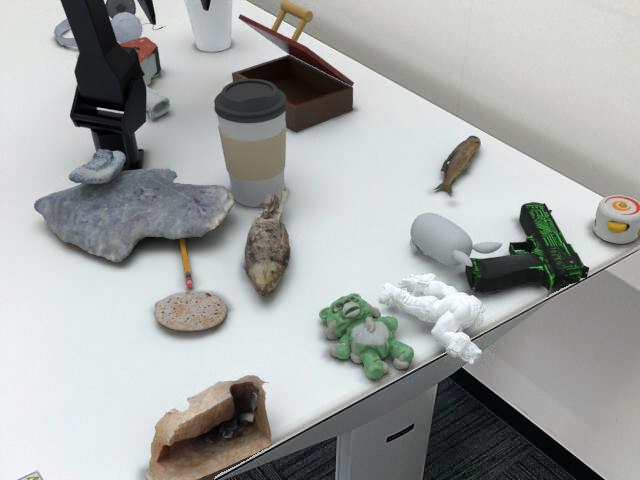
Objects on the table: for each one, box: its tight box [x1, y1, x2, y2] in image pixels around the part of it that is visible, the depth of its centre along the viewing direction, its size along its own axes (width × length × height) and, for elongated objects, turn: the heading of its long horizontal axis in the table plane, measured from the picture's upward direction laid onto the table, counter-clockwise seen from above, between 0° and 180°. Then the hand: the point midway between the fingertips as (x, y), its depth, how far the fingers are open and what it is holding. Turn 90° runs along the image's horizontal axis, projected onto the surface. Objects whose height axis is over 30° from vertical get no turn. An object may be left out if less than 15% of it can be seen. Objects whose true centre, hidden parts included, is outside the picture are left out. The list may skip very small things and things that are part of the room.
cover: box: [237, 0, 355, 87], centre depth 117 cm, size 12×17×6 cm
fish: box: [433, 135, 482, 194], centre depth 107 cm, size 17×4×2 cm, turn 160°
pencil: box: [179, 238, 193, 288], centre depth 94 cm, size 19×1×1 cm, turn 15°
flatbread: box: [154, 291, 228, 332], centre depth 84 cm, size 8×8×1 cm
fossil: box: [68, 149, 126, 184], centre depth 94 cm, size 8×4×5 cm
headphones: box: [53, 0, 166, 48], centre depth 140 cm, size 17×6×20 cm
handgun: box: [464, 201, 590, 294], centre depth 92 cm, size 16×3×15 cm
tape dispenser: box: [75, 36, 171, 119], centre depth 124 cm, size 18×5×20 cm
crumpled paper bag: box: [145, 374, 272, 480], centre depth 69 cm, size 6×12×8 cm, turn 132°
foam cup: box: [184, 0, 233, 53], centre depth 135 cm, size 10×9×13 cm
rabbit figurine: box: [409, 212, 503, 267], centre depth 90 cm, size 6×5×12 cm
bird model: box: [243, 189, 291, 298], centre depth 91 cm, size 21×6×5 cm, turn 3°
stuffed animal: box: [318, 292, 415, 380], centre depth 80 cm, size 8×12×4 cm
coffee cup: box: [213, 79, 287, 208], centre depth 98 cm, size 9×9×15 cm
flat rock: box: [33, 167, 235, 263], centre depth 95 cm, size 18×5×25 cm
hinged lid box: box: [231, 54, 354, 133], centre depth 122 cm, size 12×17×4 cm
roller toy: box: [592, 194, 640, 245], centre depth 95 cm, size 4×6×6 cm
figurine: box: [378, 272, 486, 366], centre depth 82 cm, size 10×5×12 cm
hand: (180, 17), depth 115 cm, fingers open, 9 cm apart
